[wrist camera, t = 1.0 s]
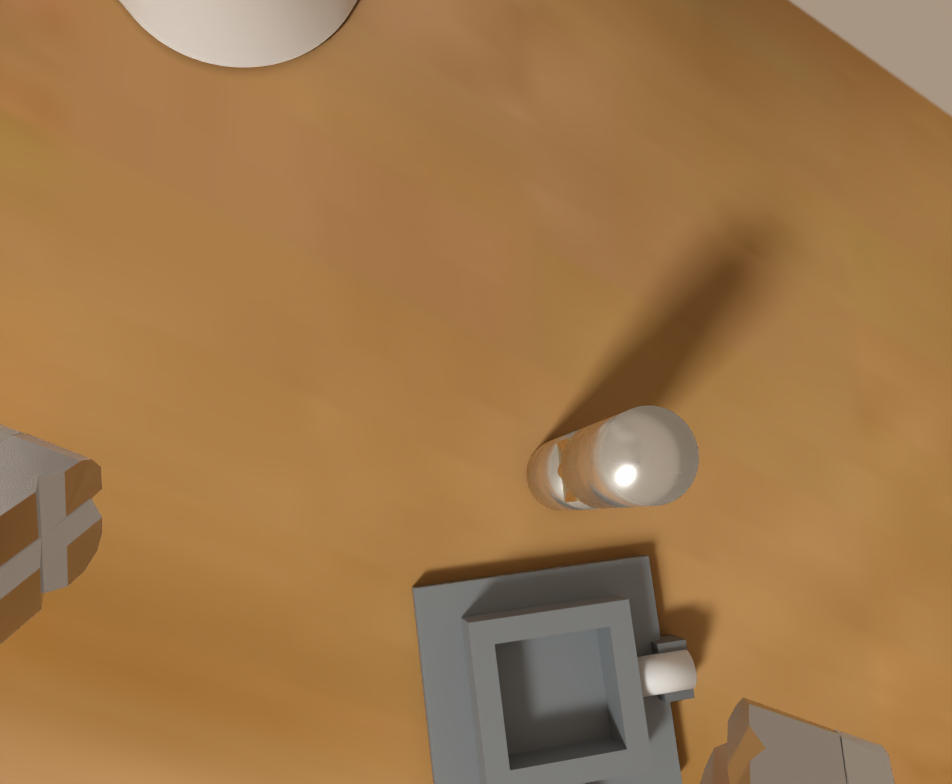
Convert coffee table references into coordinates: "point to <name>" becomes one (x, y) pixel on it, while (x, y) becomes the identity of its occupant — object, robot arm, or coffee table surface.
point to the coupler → (616, 462)
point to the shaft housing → (551, 677)
